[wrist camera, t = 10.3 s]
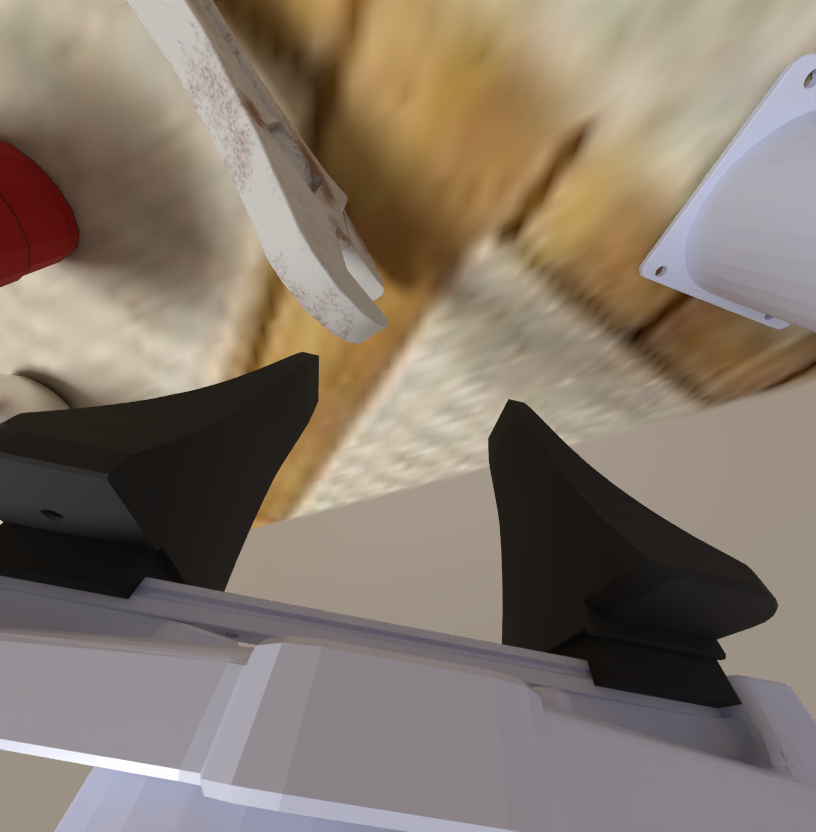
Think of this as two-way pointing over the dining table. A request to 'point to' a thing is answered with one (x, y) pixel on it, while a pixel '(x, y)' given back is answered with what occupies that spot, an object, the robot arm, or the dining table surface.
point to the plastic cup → (31, 218)
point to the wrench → (271, 170)
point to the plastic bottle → (26, 397)
